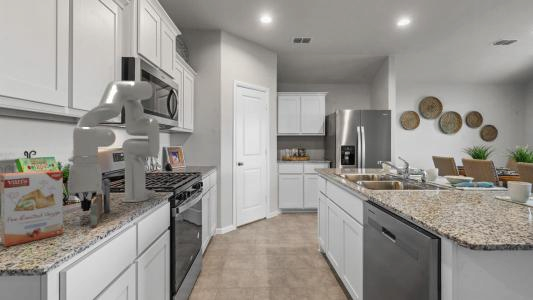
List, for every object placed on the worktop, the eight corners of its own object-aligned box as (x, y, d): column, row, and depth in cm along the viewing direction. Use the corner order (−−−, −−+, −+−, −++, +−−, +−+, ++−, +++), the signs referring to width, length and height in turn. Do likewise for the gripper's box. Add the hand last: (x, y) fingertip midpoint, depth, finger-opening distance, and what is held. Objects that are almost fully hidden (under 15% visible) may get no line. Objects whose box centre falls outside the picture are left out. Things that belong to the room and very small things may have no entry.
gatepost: (109, 211, 116) (109, 178, 116) (111, 213, 114) (111, 178, 113) (101, 212, 114) (101, 178, 113) (103, 214, 112) (103, 179, 111)
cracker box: (5, 248, 77) (3, 174, 76) (0, 243, 80) (-2, 173, 80) (64, 234, 88) (63, 170, 87) (58, 230, 91) (56, 169, 91)
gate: (97, 211, 113) (97, 194, 112) (102, 210, 113) (102, 193, 113) (90, 225, 94) (90, 205, 94) (96, 224, 95) (96, 204, 94)
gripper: (57, 161, 92) (58, 215, 93) (108, 161, 98) (108, 211, 99) (64, 160, 99) (64, 210, 100) (110, 159, 105) (110, 206, 106)
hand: (86, 210), depth 99 cm, fingers closed
